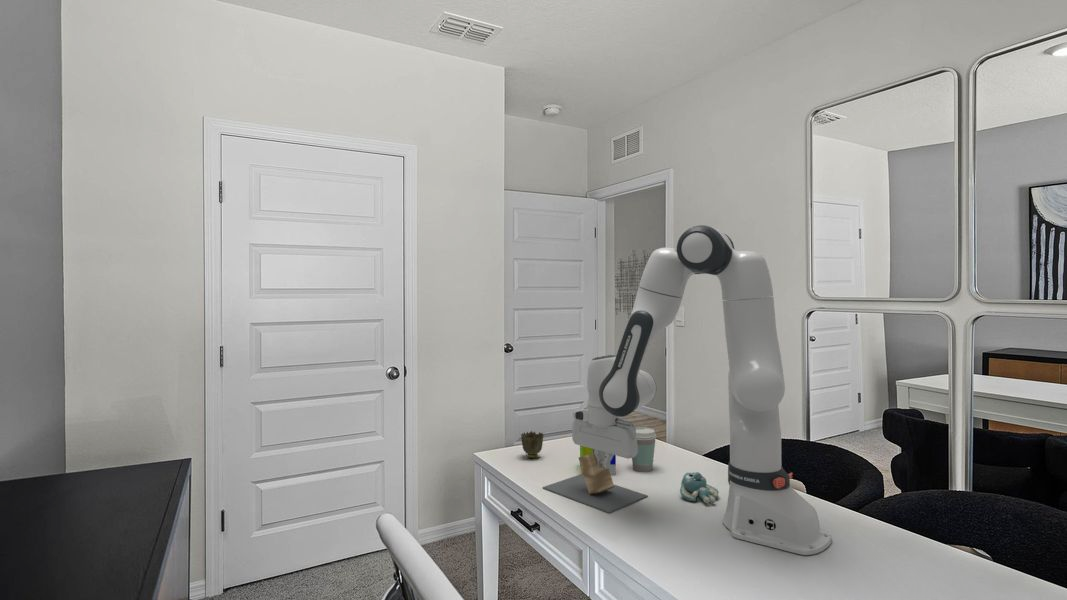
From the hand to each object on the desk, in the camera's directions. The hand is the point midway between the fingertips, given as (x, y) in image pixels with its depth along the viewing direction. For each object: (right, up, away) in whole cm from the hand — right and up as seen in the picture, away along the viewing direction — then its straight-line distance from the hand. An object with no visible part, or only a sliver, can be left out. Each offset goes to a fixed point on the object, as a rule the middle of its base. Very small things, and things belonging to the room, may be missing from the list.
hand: (603, 467), depth 145 cm
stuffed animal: (+25, -8, -1) cm, 26 cm away
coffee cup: (+15, -8, +23) cm, 28 cm away
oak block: (0, -7, +1) cm, 7 cm away
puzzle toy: (+1, -8, +22) cm, 23 cm away
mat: (-2, -8, +3) cm, 9 cm away
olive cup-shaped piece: (-19, -8, +35) cm, 41 cm away
